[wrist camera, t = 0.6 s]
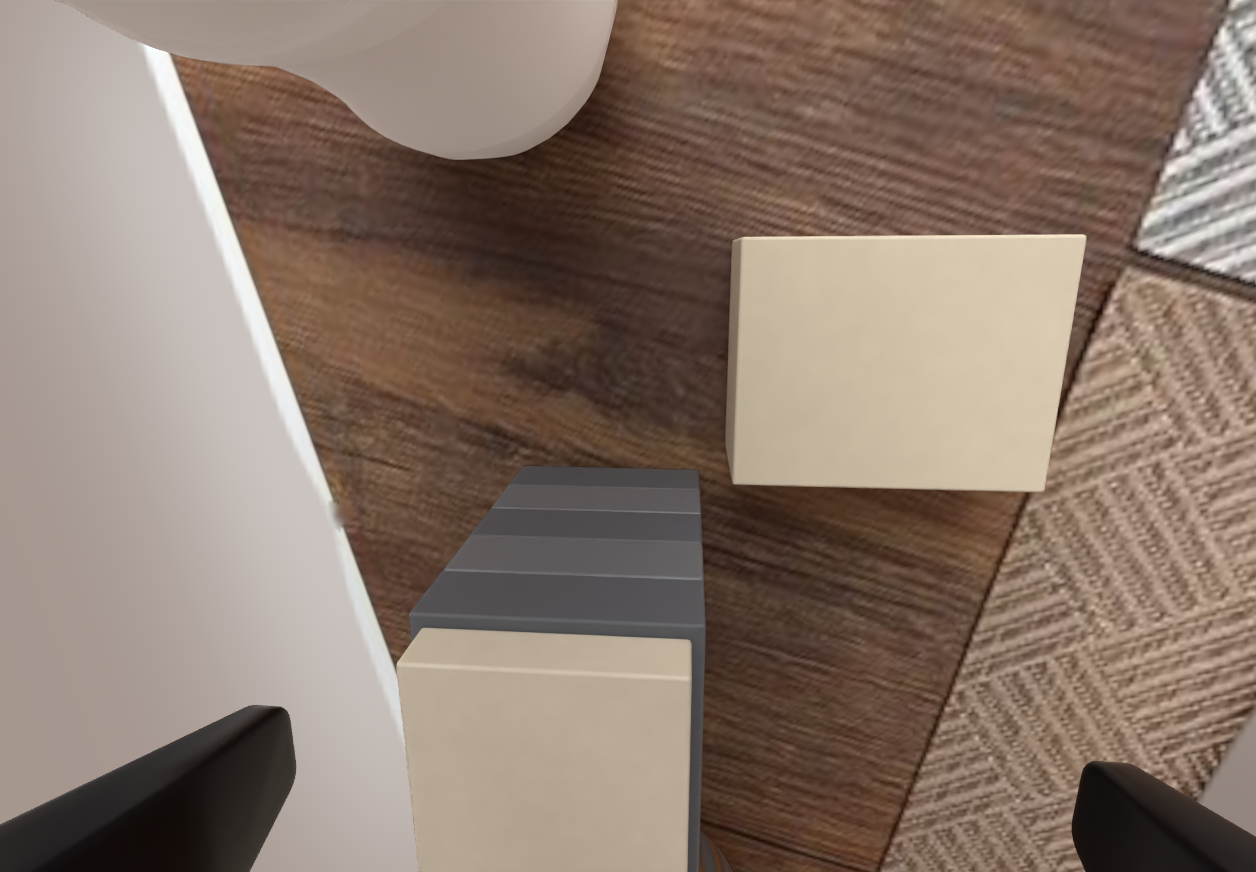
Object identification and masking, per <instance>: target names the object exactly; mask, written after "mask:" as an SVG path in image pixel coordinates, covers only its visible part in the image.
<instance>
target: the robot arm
mask: <svg viewBox="0 0 1256 872" xmlns="http://www.w3.org/2000/svg"><path fill="white" fill-rule="evenodd" d="M295 774H296V760H295V751H294V745H293V736H292V729H291V721H290V717H289V714H288V712H287V711H286V710H285V709H284V708H282V707H276V706H262V705H252V706H248V707H245V708H243V709H241V710H239V711H237V712H235V713H233V714H230V715H228V716H226V717H224V718H222V719H220V720H218V721H216V722H214V723H212V724H210V725H207V726H206V727H203V728H201V729H199V730H197V731H195V732H193V733H191V734H189V735H186V736H184V737H182V738H180V739H178V740H176V741H174V742H172V743H170V744H168V745H166V746H163V747H162V748H159V749H157V750H155V751H153V752H151V753H149V754H147V755H145V756H143V757H141V758H138V759H136V760H134V761H132V762H130V763H128V764H126V765H124V766H122V767H119V768H117V769H115V770H113V771H111V772H109V773H107V774H105V775H103V776H101V777H99V778H96V779H95V780H92V781H90V782H88V783H86V784H84V785H82V786H80V787H78V788H76V789H74V790H71V791H69V792H67V793H65V794H63V795H61V796H59V797H57V798H55V799H53V800H51V801H49V802H46V803H44V804H42V805H40V806H38V807H36V808H34V809H32V810H30V811H27V812H25V813H23V814H21V815H19V816H17V817H15V818H13V819H11V820H9V821H6V822H5V823H2V824H0V872H250V869H251V868H252V866H253V864H254V862H255V860H256V858H257V856H258V854H259V852H260V850H261V848H262V846H263V844H264V842H265V840H266V838H267V836H268V834H269V832H270V830H271V828H272V826H273V824H274V822H275V820H276V818H277V816H278V814H279V812H280V810H281V808H282V806H283V804H284V802H285V800H286V798H287V796H288V794H289V792H290V790H291V788H292V786H293V783H294V779H295ZM1072 836H1073V841H1074V845H1075V848H1076V851H1077V853H1078V856H1079V858H1080V860H1081V863H1082V865H1083V867H1084V869H1085V872H1256V837H1255V836H1254V835H1252V834H1250V833H1249V832H1247V831H1245V830H1243V829H1242V828H1240V827H1238V826H1236V825H1235V824H1233V823H1231V822H1230V821H1228V820H1226V819H1224V818H1223V817H1221V816H1220V815H1218V814H1216V813H1214V812H1213V811H1211V810H1209V809H1208V808H1206V807H1204V806H1203V805H1201V804H1199V803H1197V802H1196V801H1194V800H1192V799H1191V798H1189V797H1187V796H1186V795H1184V794H1182V793H1180V792H1179V791H1177V790H1175V789H1174V788H1172V787H1170V786H1168V785H1167V784H1165V783H1163V782H1162V781H1160V780H1158V779H1157V778H1155V777H1153V776H1151V775H1150V774H1148V773H1146V772H1145V771H1143V770H1141V769H1140V768H1138V767H1136V766H1134V765H1131V764H1128V763H1119V762H1104V761H1092V762H1089V763H1088V764H1086V766H1085V767H1084V768H1083V771H1082V774H1081V779H1080V784H1079V789H1078V794H1077V799H1076V804H1075V809H1074V814H1073V819H1072Z"/></svg>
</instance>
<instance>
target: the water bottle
mask: <svg viewBox="0 0 1256 872" xmlns="http://www.w3.org/2000/svg"><path fill="white" fill-rule="evenodd" d="M55 1H58V2H60V3H63V4H65V5H68V6H71V7H73V8H75V9H77V10H78V11H80V12H81V13H83V14H84V15H86V16H87V17H89V18H91V19H93V20H95V21H97V22H99V23H101V24H103V25H105V26H107V27H109V28H111V29H113V30H115V31H116V32H119V33H121V34H122V35H124V36H126V37H128V38H131V39H133V40H136V41H138V42H141V43H143V44H146V45H148V46H151V47H153V48H156V49H159V50H162V51H166V52H169V53H172V54H175V55H179V56H183V57H187V58H192V59H198V60H204V61H211V62H217V63H224V64H237V65H254V66H275V67H278V68H281V69H283V70H286V71H288V72H291V73H293V74H296V75H298V76H301V77H303V78H306V79H309V80H311V81H313V82H314V83H316V84H318V85H320V86H321V87H323V88H324V89H326V90H327V91H329V92H330V93H332V94H334V95H335V96H337V97H338V98H340V99H341V100H342V101H343V102H345V103H346V104H347V105H348V107H349V108H350V109H351V110H352V111H353V112H354V113H355V114H356V115H357V116H358V117H359V118H360V119H361V120H362V121H364V122H365V123H366V124H367V125H368V126H370V127H371V128H372V129H374V130H375V131H377V132H378V133H380V134H382V135H383V136H385V137H386V138H388V139H390V140H393V141H395V142H397V143H399V144H401V145H404V146H407V147H409V148H412V149H415V150H418V151H422V152H425V153H428V154H432V155H435V156H438V157H443V158H447V159H452V160H467V159H485V158H498V157H505V156H511V155H516V154H519V153H522V152H524V151H527V150H529V149H531V148H532V147H534V146H536V145H538V144H540V143H542V142H544V141H545V140H547V139H549V138H550V137H552V136H553V135H554V134H555V133H557V132H558V131H559V130H560V129H561V128H563V127H564V126H565V125H566V124H568V123H569V122H570V120H571V119H572V118H573V117H574V116H575V115H576V113H577V112H578V111H579V110H580V109H581V107H582V106H583V105H584V104H585V103H586V101H587V99H588V98H589V96H590V95H591V93H592V92H593V90H594V88H595V86H596V84H597V81H598V79H599V76H600V73H601V69H602V65H603V62H604V58H605V54H606V50H607V46H608V42H609V38H610V34H611V30H612V25H613V21H614V17H615V13H616V9H617V2H618V0H55Z"/></svg>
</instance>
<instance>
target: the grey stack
mask: <svg viewBox="0 0 1256 872" xmlns="http://www.w3.org/2000/svg"><path fill="white" fill-rule="evenodd" d="M409 619H410V628H411V638H412V641H413V640H414V638H415V637H416V636H417V634H418V633H419V631H420V630H421V629H422V628H444V629H467V630H489V631H512V632H534V633H557V634H579V635H602V636H624V637H646V638H669V639H688V640H690V641H691V644H692V691H691V735H690V778H689V822H688V866H687V872H699V851H700V816H701V781H702V746H703V711H704V676H705V640H706V618H705V595H704V572H703V548H702V523H701V498H700V474H699V470H687V469H643V468H599V467H555V466H523V467H522V468H521V470H520V471H519V472H518V474H517V475H516V476H515V477H514V479H513V480H512V481H511V483H510V484H509V486H508V487H507V488H506V489H505V491H504V492H503V493H502V494H501V496H500V497H499V498H498V500H497V501H496V502H495V503H494V505H493V506H492V508H491V509H490V510H489V511H488V513H487V514H486V515H485V516H484V518H483V519H482V520H481V522H480V523H479V524H478V525H477V527H476V528H475V529H474V531H473V532H472V533H471V535H470V537H469V538H468V539H467V540H466V541H465V543H464V544H463V545H462V547H461V548H460V549H459V550H458V552H457V553H456V554H455V556H454V557H453V558H452V559H451V561H450V562H449V563H448V565H447V566H446V567H445V569H444V571H442V572H441V573H440V574H439V576H438V577H437V578H436V580H435V581H434V582H433V583H432V585H431V586H430V587H429V589H428V590H427V591H426V592H425V594H424V595H423V596H422V598H421V599H420V600H419V601H418V603H417V604H416V605H415V607H414V608H413V609H412V610H411V612H410V614H409Z"/></svg>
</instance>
